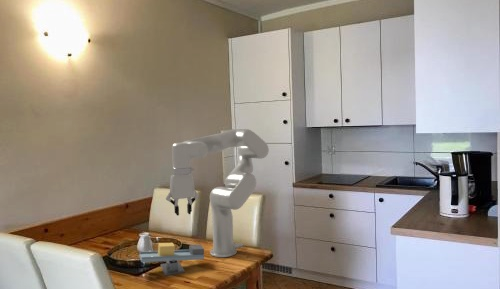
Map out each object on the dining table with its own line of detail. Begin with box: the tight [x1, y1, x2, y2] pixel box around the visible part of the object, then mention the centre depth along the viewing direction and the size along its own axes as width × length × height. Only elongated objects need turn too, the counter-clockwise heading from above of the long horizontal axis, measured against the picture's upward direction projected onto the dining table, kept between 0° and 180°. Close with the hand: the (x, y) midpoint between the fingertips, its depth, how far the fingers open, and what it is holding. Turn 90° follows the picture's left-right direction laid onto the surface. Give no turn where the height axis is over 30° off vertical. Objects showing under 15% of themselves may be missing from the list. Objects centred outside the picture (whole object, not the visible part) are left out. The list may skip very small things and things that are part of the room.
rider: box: [157, 242, 176, 256], centre depth 164 cm, size 6×5×4 cm
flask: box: [142, 235, 154, 251], centre depth 179 cm, size 7×7×10 cm
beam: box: [138, 244, 205, 263], centre depth 165 cm, size 26×9×5 cm, turn 111°
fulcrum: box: [160, 260, 185, 276], centre depth 165 cm, size 8×12×4 cm, turn 21°
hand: (183, 213), depth 166 cm, fingers open, 4 cm apart
